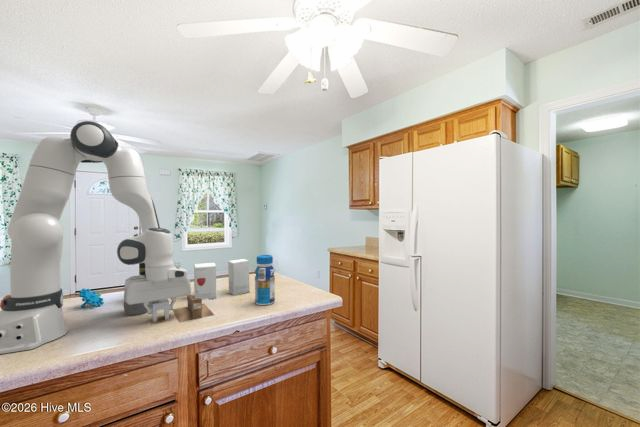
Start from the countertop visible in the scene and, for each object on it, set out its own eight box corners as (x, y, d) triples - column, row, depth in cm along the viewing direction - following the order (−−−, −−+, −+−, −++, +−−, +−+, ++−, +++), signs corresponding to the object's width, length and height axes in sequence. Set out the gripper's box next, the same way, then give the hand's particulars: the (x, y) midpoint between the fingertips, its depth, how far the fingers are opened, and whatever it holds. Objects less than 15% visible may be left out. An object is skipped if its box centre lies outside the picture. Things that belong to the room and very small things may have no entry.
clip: (152, 322, 99) (152, 304, 99) (151, 319, 103) (151, 301, 102) (169, 319, 102) (168, 301, 102) (167, 316, 105) (167, 298, 105)
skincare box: (244, 289, 142) (244, 258, 142) (250, 292, 137) (250, 260, 137) (227, 292, 137) (227, 260, 137) (233, 295, 132) (233, 262, 132)
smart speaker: (122, 319, 104) (122, 281, 104) (124, 311, 112) (124, 276, 112) (152, 314, 109) (152, 278, 109) (152, 307, 117) (152, 273, 117)
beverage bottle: (251, 302, 123) (250, 255, 122) (268, 298, 128) (268, 253, 128) (261, 307, 116) (260, 258, 116) (278, 302, 122) (278, 256, 122)
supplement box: (194, 301, 124) (194, 267, 124) (194, 295, 132) (194, 263, 132) (216, 298, 128) (216, 265, 128) (215, 293, 136) (214, 262, 136)
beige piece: (150, 330, 95) (150, 307, 94) (147, 315, 108) (146, 295, 108) (214, 316, 106) (214, 296, 106) (204, 304, 119) (204, 287, 119)
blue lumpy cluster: (93, 306, 114) (76, 288, 114) (81, 317, 113) (63, 300, 113) (111, 301, 124) (94, 285, 125) (100, 311, 124) (83, 295, 124)
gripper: (124, 279, 94) (125, 321, 94) (191, 271, 105) (192, 308, 106) (124, 275, 99) (125, 315, 99) (188, 268, 111) (188, 303, 111)
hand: (160, 311), depth 102 cm, fingers closed on clip, 5 cm apart
